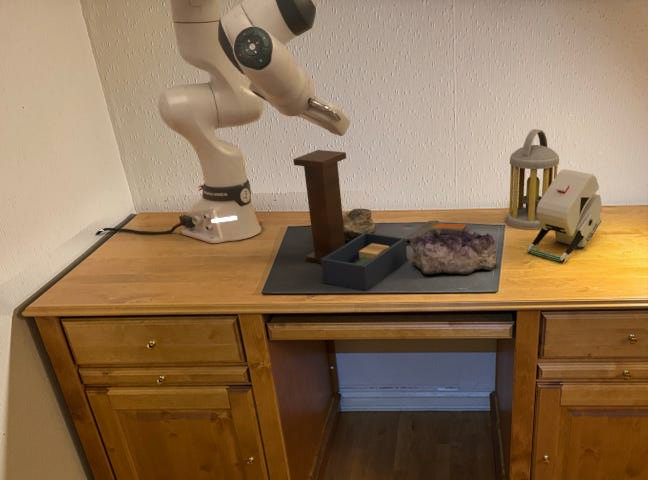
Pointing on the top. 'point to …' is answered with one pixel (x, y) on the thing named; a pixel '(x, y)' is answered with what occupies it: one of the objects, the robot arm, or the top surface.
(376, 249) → the brush
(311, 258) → the stand
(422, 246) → the geode
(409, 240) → the handgun
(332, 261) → the desk bin
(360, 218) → the stone
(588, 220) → the robotic device
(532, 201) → the lantern
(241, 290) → the top surface
